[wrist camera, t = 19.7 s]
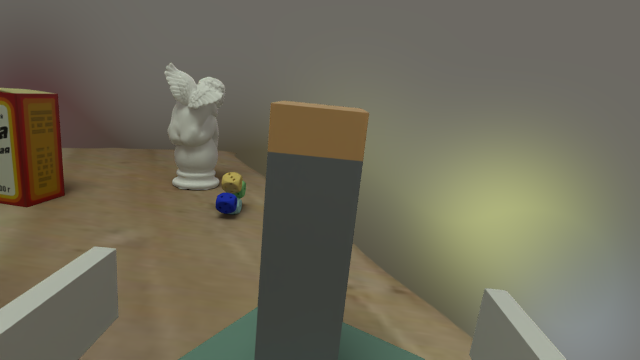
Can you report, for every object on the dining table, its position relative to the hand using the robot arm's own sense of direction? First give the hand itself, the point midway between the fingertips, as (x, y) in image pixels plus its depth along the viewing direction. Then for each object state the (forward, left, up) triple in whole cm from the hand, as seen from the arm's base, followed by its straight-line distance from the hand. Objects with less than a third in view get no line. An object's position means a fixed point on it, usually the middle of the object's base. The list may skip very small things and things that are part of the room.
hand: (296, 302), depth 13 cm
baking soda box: (-59, +13, -13) cm, 62 cm away
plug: (-5, +8, -12) cm, 15 cm away
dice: (-33, +31, -13) cm, 47 cm away
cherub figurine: (-47, +37, -13) cm, 61 cm away
